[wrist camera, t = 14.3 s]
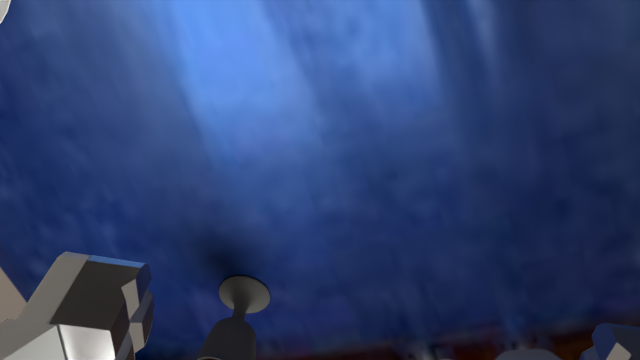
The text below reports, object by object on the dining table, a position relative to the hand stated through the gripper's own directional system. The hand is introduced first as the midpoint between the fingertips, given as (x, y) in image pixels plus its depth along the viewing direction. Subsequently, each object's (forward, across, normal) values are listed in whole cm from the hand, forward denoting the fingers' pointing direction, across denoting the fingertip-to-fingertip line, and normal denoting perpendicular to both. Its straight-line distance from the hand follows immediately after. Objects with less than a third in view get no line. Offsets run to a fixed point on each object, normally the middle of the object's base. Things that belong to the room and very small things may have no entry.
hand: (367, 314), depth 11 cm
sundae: (+31, +8, +34) cm, 47 cm away
